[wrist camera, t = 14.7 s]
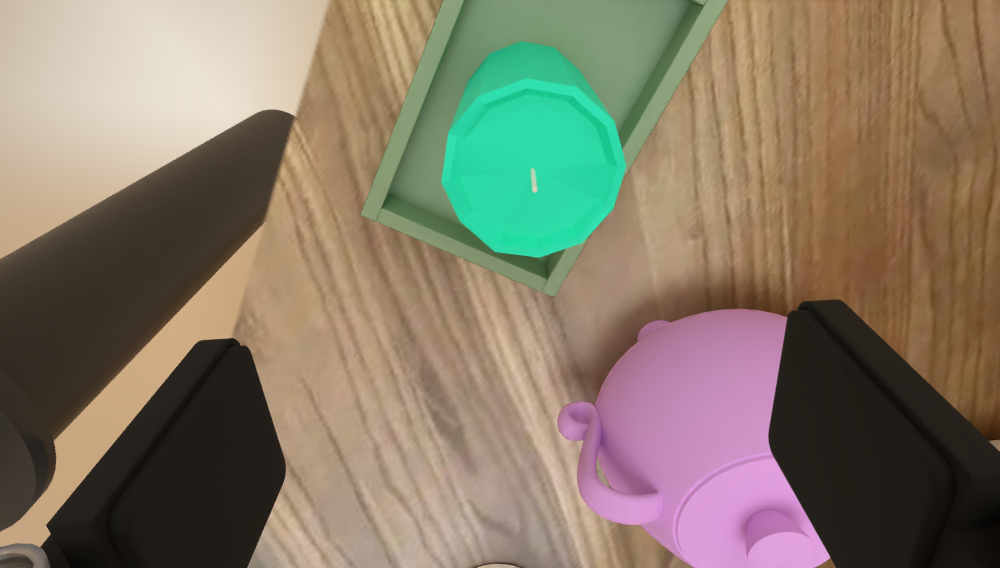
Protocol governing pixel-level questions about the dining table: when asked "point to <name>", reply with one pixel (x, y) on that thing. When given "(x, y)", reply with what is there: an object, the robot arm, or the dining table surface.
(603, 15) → the tray
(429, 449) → the dining table surface
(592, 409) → the teapot
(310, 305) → the dining table surface
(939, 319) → the dining table surface
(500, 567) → the cup
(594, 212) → the candle
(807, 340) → the robot arm
